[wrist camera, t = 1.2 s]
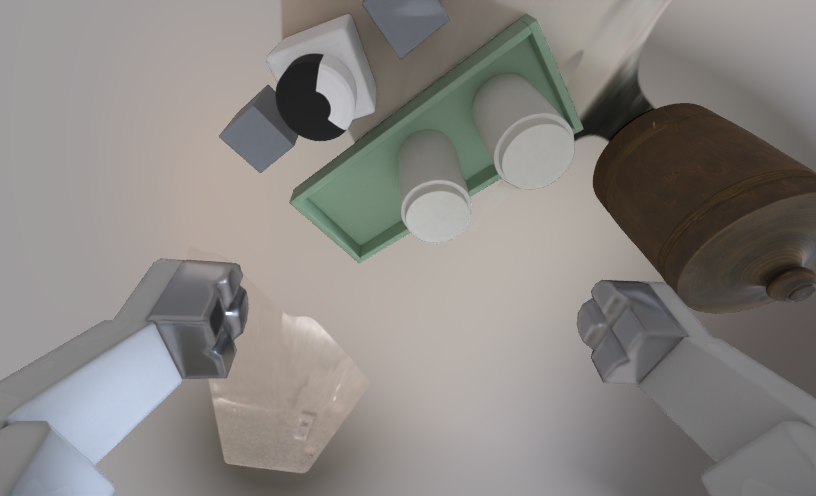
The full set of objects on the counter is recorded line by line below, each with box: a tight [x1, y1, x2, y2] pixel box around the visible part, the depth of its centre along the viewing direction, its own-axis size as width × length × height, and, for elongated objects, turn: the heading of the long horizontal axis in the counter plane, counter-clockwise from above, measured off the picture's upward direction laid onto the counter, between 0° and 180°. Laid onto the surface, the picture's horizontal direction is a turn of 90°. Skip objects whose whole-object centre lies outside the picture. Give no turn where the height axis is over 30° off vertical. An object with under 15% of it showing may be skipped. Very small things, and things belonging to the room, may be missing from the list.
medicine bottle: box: [266, 14, 377, 141], centre depth 33 cm, size 7×7×12 cm
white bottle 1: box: [398, 130, 472, 243], centre depth 39 cm, size 7×7×12 cm
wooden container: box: [593, 103, 816, 314], centre depth 38 cm, size 15×15×22 cm
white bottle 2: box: [472, 73, 575, 190], centre depth 36 cm, size 7×7×12 cm
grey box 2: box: [363, 0, 449, 59], centre depth 32 cm, size 5×5×6 cm
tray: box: [290, 14, 583, 263], centre depth 43 cm, size 32×13×3 cm, turn 126°
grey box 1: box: [219, 85, 298, 173], centre depth 38 cm, size 5×5×6 cm
